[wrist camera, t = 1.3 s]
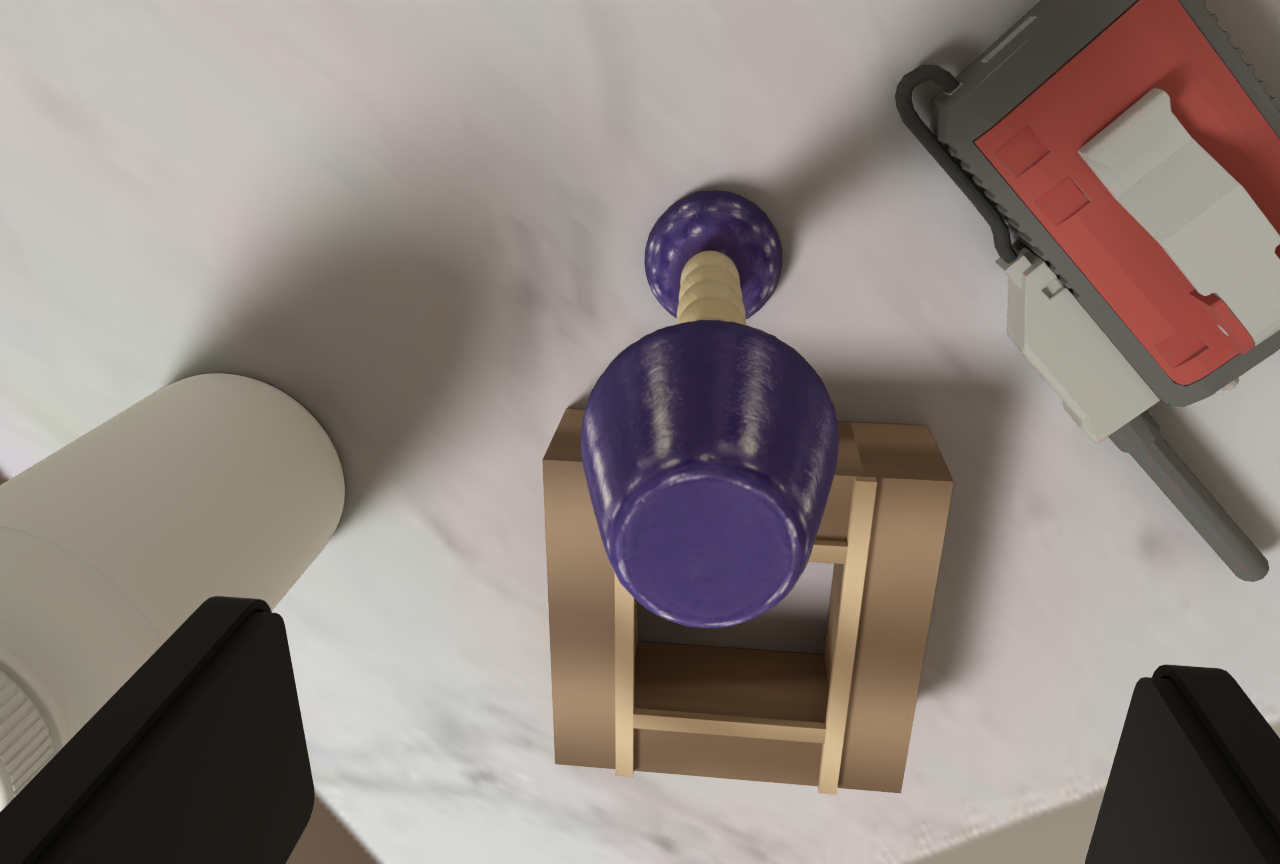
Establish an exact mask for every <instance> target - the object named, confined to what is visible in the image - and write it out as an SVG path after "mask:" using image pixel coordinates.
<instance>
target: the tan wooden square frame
mask: <svg viewBox="0 0 1280 864" xmlns="http://www.w3.org/2000/svg"><path fill="white" fill-rule="evenodd" d="M584 413H585V409H567V408H566V410H565V413H564V415H563V417H562V419H561V421H560V423H559V425H558V428H557V430H556V432H555V434H554V436H553V438H552V441H551V443H550V445H549V447H548V449H547V451H546V454H545V456H544V458H543V482H544V506H545V530H546V554H547V578H548V602H549V626H550V650H551V674H552V698H553V722H554V746H555V764H561V765H573V766H585V767H597V768H609V769H616V776H626V777H633V772H634V771H644V772H656V773H668V774H680V775H691V776H703V777H715V778H727V779H739V780H751V781H763V782H774V783H786V784H798V785H810V786H818V791H819V793H826V794H837V788H845V789H857V790H869V791H881V792H893V793H901V789H902V783H903V778H904V772H905V766H906V760H907V754H908V748H909V742H910V736H911V730H912V724H913V719H914V713H915V707H916V701H917V695H918V689H919V683H920V677H921V671H922V665H923V660H924V654H925V648H926V642H927V636H928V630H929V624H930V618H931V612H932V607H933V601H934V595H935V589H936V583H937V577H938V571H939V565H940V559H941V553H942V548H943V542H944V536H945V530H946V524H947V518H948V512H949V506H950V500H951V494H952V489H953V483H954V481H953V479H952V477H951V475H950V473H949V470H948V468H947V466H946V464H945V462H944V460H943V457H942V455H941V453H940V451H939V449H938V447H937V445H936V442H935V440H934V438H933V436H932V434H931V432H930V429H929V427H928V426H924V425H903V424H882V423H861V422H840V421H837V424H838V431H839V447H838V458H837V466H836V470H835V474H834V478H833V482H832V486H831V489H830V493H829V496H828V500H827V503H826V507H825V510H824V514H823V518H822V521H821V524H820V527H819V530H818V532H817V535H816V538H815V542H814V545H813V549H812V552H811V555H810V558H809V560H808V562H821V563H834V571H833V579H832V588H831V597H830V606H829V615H828V624H827V633H826V641H825V650H824V655H820V654H806V653H792V652H778V651H764V650H749V649H735V648H721V647H707V646H693V645H679V644H665V643H651V642H638V601H637V600H636V599H635V598H634V597H633V596H632V595H631V594H630V593H629V592H628V591H627V590H626V589H625V588H624V587H623V586H622V585H621V583H620V582H619V580H618V578H617V576H616V574H615V572H614V570H613V568H612V566H611V565H610V562H609V559H608V556H607V554H606V551H605V548H604V545H603V542H602V539H601V535H600V531H599V528H598V524H597V520H596V517H595V514H594V510H593V506H592V502H591V499H590V494H589V490H588V485H587V481H586V477H585V472H584V468H583V463H582V456H581V430H582V422H583V416H584Z"/></svg>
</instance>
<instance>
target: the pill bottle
mask: <svg viewBox="0 0 1280 864" xmlns="http://www.w3.org/2000/svg"><path fill="white" fill-rule="evenodd" d="M344 499H345V484H344V476H343V471H342V467H341V463H340V460H339V457H338V455H337V452H336V450H335V448H334V446H333V444H332V442H331V440H330V438H329V437H328V435H327V434H326V432H325V431H324V429H323V428H322V427H321V425H320V424H319V423H318V422H317V420H316V419H315V418H314V417H313V416H312V415H311V414H310V413H309V412H308V411H307V410H306V409H305V408H304V407H303V406H301V405H300V404H299V403H298V402H297V401H295V400H294V399H293V398H291V397H290V396H288V395H287V394H285V393H283V392H282V391H280V390H278V389H276V388H274V387H272V386H270V385H268V384H266V383H263V382H261V381H258V380H255V379H252V378H248V377H244V376H240V375H234V374H223V373H212V374H202V375H196V376H192V377H188V378H185V379H182V380H179V381H177V382H175V383H172V384H170V385H167V386H165V387H163V388H161V389H159V390H158V391H156V392H154V393H153V394H151V395H149V396H148V397H146V398H144V399H143V400H141V401H139V402H138V403H136V404H134V405H133V406H131V407H129V408H128V409H126V410H124V411H123V412H121V413H119V414H118V415H116V416H114V417H113V418H111V419H110V420H108V421H106V422H105V423H103V424H101V425H100V426H98V427H96V428H95V429H93V430H91V431H90V432H88V433H86V434H85V435H83V436H81V437H80V438H78V439H76V440H75V441H73V442H71V443H70V444H68V445H66V446H65V447H63V448H61V449H60V450H58V451H57V452H55V453H53V454H52V455H50V456H48V457H47V458H45V459H43V460H42V461H40V462H38V463H37V464H35V465H33V466H32V467H30V468H28V469H27V470H25V471H23V472H22V473H20V474H18V475H17V476H15V477H13V478H12V479H10V480H8V481H7V482H5V483H4V484H2V485H0V812H1V811H2V810H3V809H4V808H5V807H6V806H7V805H8V804H9V803H10V801H11V800H12V799H13V798H14V797H15V796H16V795H17V794H18V793H19V792H20V791H21V790H22V789H23V788H24V787H25V786H26V785H27V784H28V783H29V782H30V781H31V780H32V779H33V778H34V777H35V776H36V775H37V774H38V773H39V772H40V770H41V769H42V768H43V767H44V766H45V765H46V764H47V763H48V762H49V761H50V760H51V759H52V758H53V757H54V756H55V755H56V754H57V753H58V752H59V751H60V750H61V749H62V748H63V747H64V746H65V745H66V744H67V743H68V742H69V741H70V739H71V738H72V737H73V736H74V735H75V734H76V733H77V732H78V731H79V730H80V729H81V728H82V727H83V726H84V725H85V724H86V723H87V722H88V721H89V720H90V719H91V718H92V717H93V716H94V715H95V714H96V713H97V712H98V711H99V710H100V708H101V707H102V706H103V705H104V704H105V703H106V702H107V701H108V700H109V699H110V698H111V697H112V696H113V695H114V694H115V693H116V692H117V691H118V690H119V689H120V688H121V687H122V686H123V685H124V684H125V683H126V682H127V681H128V680H129V679H130V677H131V676H132V675H133V674H134V673H135V672H136V671H137V670H138V669H139V668H140V667H141V666H142V665H143V664H144V663H145V662H146V661H147V660H148V659H149V658H150V657H151V656H152V655H153V654H154V653H155V652H156V651H157V650H158V649H159V648H160V646H161V645H162V644H163V643H164V642H165V641H166V640H167V639H168V638H169V637H170V636H171V635H172V634H173V633H174V632H175V631H176V630H177V629H178V628H179V627H180V626H181V625H182V624H183V623H184V622H185V621H186V620H187V619H188V618H189V616H190V615H191V614H192V613H193V612H194V611H195V610H196V609H197V608H198V607H199V606H200V605H201V604H202V603H203V602H204V601H206V600H207V599H208V598H210V597H214V596H225V597H239V598H253V599H261V600H264V601H266V602H267V604H268V605H269V606H270V609H271V611H272V610H273V609H274V608H275V607H276V605H277V604H278V603H279V602H280V601H281V599H282V598H283V597H284V596H285V595H286V593H287V592H288V591H289V590H290V589H291V587H292V586H293V585H294V584H295V583H296V581H297V580H298V579H299V578H300V577H301V575H302V574H303V573H304V572H305V571H306V569H307V568H308V567H309V566H310V565H311V563H312V562H313V561H314V560H315V559H316V557H317V556H318V555H319V554H320V553H321V551H322V550H323V549H324V548H325V546H326V545H327V543H328V542H329V540H330V538H331V536H332V535H333V533H334V532H335V530H336V528H337V526H338V523H339V521H340V518H341V515H342V511H343V506H344Z"/></svg>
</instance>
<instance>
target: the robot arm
mask: <svg viewBox="0 0 1280 864" xmlns="http://www.w3.org/2000/svg"><path fill="white" fill-rule="evenodd" d="M314 795H315V794H314V785H313V779H312V774H311V768H310V762H309V757H308V751H307V746H306V740H305V735H304V729H303V724H302V718H301V712H300V707H299V701H298V696H297V690H296V685H295V679H294V674H293V668H292V662H291V657H290V651H289V646H288V640H287V635H286V629H285V624H284V621H283V618H282V617H281V616H280V615H279V614H277V613H272V612H271V609H270V606H269V605H268V604H267V602H266V601H264V600H261V599H253V598H239V597H225V596H214V597H210V598H208V599H207V600H206V601H204V602H203V603H202V604H201V605H200V606H199V607H198V608H197V609H196V610H195V611H194V612H193V613H192V614H191V615H190V616H189V618H188V619H187V620H186V621H185V622H184V623H183V624H182V625H181V626H180V627H179V628H178V629H177V630H176V631H175V632H174V633H173V634H172V635H171V636H170V637H169V638H168V639H167V640H166V641H165V642H164V643H163V644H162V645H161V646H160V648H159V649H158V650H157V651H156V652H155V653H154V654H153V655H152V656H151V657H150V658H149V659H148V660H147V661H146V662H145V663H144V664H143V665H142V666H141V667H140V668H139V669H138V670H137V671H136V672H135V673H134V674H133V675H132V676H131V677H130V679H129V680H128V681H127V682H126V683H125V684H124V685H123V686H122V687H121V688H120V689H119V690H118V691H117V692H116V693H115V694H114V695H113V696H112V697H111V698H110V699H109V700H108V701H107V702H106V703H105V704H104V705H103V706H102V707H101V708H100V710H99V711H98V712H97V713H96V714H95V715H94V716H93V717H92V718H91V719H90V720H89V721H88V722H87V723H86V724H85V725H84V726H83V727H82V728H81V729H80V730H79V731H78V732H77V733H76V734H75V735H74V736H73V737H72V738H71V739H70V741H69V742H68V743H67V744H66V745H65V746H64V747H63V748H62V749H61V750H60V751H59V752H58V753H57V754H56V755H55V756H54V757H53V758H52V759H51V760H50V761H49V762H48V763H47V764H46V765H45V766H44V767H43V768H42V769H41V770H40V772H39V773H38V774H37V775H36V776H35V777H34V778H33V779H32V780H31V781H30V782H29V783H28V784H27V785H26V786H25V787H24V788H23V789H22V790H21V791H20V792H19V793H18V794H17V795H16V796H15V797H14V798H13V799H12V800H11V801H10V803H9V804H8V805H7V806H6V807H5V808H4V809H3V810H2V811H1V812H0V864H285V863H286V862H287V860H288V858H289V856H290V854H291V853H292V851H293V849H294V847H295V845H296V844H297V842H298V840H299V838H300V836H301V834H302V833H303V831H304V829H305V827H306V826H307V823H308V821H309V819H310V816H311V813H312V810H313V805H314ZM1085 864H1280V738H1279V737H1278V736H1277V734H1276V733H1275V732H1274V730H1273V729H1272V728H1271V726H1270V725H1269V724H1268V723H1267V721H1266V720H1265V719H1264V717H1263V716H1262V715H1261V713H1260V712H1259V711H1258V709H1257V708H1256V707H1255V706H1254V704H1253V703H1252V702H1251V700H1250V699H1249V698H1248V696H1247V695H1246V694H1245V692H1244V691H1243V690H1242V688H1241V687H1240V686H1239V685H1238V683H1237V682H1236V681H1235V679H1234V678H1233V677H1232V676H1231V675H1230V674H1229V673H1228V672H1227V671H1225V670H1222V669H1219V668H1205V667H1191V666H1177V665H1162V666H1159V667H1158V668H1157V669H1156V671H1155V672H1154V674H1153V676H1152V678H1148V677H1144V678H1141V679H1140V680H1139V681H1138V682H1137V684H1136V686H1135V688H1134V692H1133V695H1132V699H1131V702H1130V706H1129V709H1128V713H1127V716H1126V720H1125V723H1124V727H1123V730H1122V734H1121V737H1120V741H1119V744H1118V748H1117V751H1116V755H1115V758H1114V762H1113V765H1112V769H1111V772H1110V776H1109V779H1108V783H1107V786H1106V790H1105V793H1104V797H1103V801H1102V804H1101V807H1100V811H1099V814H1098V818H1097V822H1096V825H1095V829H1094V832H1093V836H1092V839H1091V843H1090V846H1089V850H1088V853H1087V857H1086V861H1085Z"/></svg>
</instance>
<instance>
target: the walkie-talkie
mask: <svg viewBox="0 0 1280 864" xmlns="http://www.w3.org/2000/svg"><path fill="white" fill-rule="evenodd" d="M1205 2H1206V1H1205V0H1041V1H1040V2H1039V3H1038V4H1037V5H1036V6H1034V7H1033V8H1032V9H1031V10H1030V11H1029V12H1028V13H1027V14H1026V15H1025V16H1024V17H1022V18H1021V19H1020V20H1019V21H1018V22H1017V23H1016V24H1015V25H1014V26H1013V27H1011V28H1010V29H1009V30H1008V31H1007V32H1006V33H1005V34H1004V35H1003V36H1002V37H1001V38H999V39H998V40H997V41H996V42H995V43H994V44H993V45H992V46H991V47H990V48H988V49H987V50H986V51H985V52H984V53H983V54H982V55H981V56H980V57H979V58H978V59H976V60H975V61H974V62H973V63H972V64H971V65H970V66H969V67H968V68H967V69H965V70H964V71H963V72H962V73H961V74H960V75H959V76H958V77H957V78H956V79H955V78H954V77H953V75H952V74H951V73H950V72H948V71H946V70H944V69H942V68H940V67H938V66H935V65H922V66H920V67H918V68H916V69H915V70H913V71H911V72H909V73H908V74H906V75H904V76H903V78H902V79H901V81H900V82H899V84H898V85H897V90H896V94H895V101H896V107H897V109H898V111H899V114H900V116H901V119H902V121H903V122H904V124H905V125H906V126H907V127H908V128H909V129H910V131H911V132H912V133H913V134H914V135H915V136H916V138H917V139H918V140H919V141H920V142H921V143H922V145H923V146H924V147H925V148H926V149H927V151H928V152H929V153H930V154H931V155H932V156H933V158H934V159H935V160H936V161H937V162H938V163H939V165H940V166H941V167H942V168H943V169H944V170H945V172H946V173H947V174H948V175H949V176H950V177H951V179H952V180H953V181H954V182H955V183H956V184H957V186H958V187H959V188H960V189H961V190H962V191H963V193H964V194H965V195H966V196H967V197H968V199H969V200H970V201H971V202H972V204H973V205H974V206H975V207H976V209H977V210H978V211H979V212H980V214H981V215H982V216H983V217H984V219H985V220H986V221H987V222H988V224H989V225H990V227H991V230H992V232H993V237H994V244H995V248H996V250H997V252H998V254H999V256H1000V258H999V259H998V260H997V261H995V262H996V263H997V264H998V265H999V267H1000V268H1001V269H1002V270H1003V271H1004V272H1005V274H1006V275H1007V276H1008V308H1007V332H1008V336H1009V338H1010V339H1011V340H1012V341H1013V342H1014V344H1015V345H1016V346H1017V347H1018V348H1019V350H1020V351H1021V352H1022V353H1023V354H1024V355H1025V357H1026V358H1027V359H1028V360H1029V361H1030V362H1031V364H1032V365H1033V366H1034V367H1035V368H1036V369H1037V370H1038V372H1039V373H1040V374H1041V375H1042V376H1043V377H1044V379H1045V380H1046V381H1047V382H1048V383H1049V384H1050V385H1051V387H1052V388H1053V389H1054V390H1055V391H1056V392H1057V394H1058V395H1059V396H1060V397H1061V398H1062V399H1063V402H1064V409H1065V410H1066V411H1067V412H1068V414H1069V415H1070V416H1071V417H1072V418H1073V420H1074V421H1075V422H1076V423H1077V424H1078V426H1079V427H1080V428H1081V429H1082V430H1083V431H1084V432H1085V433H1086V434H1087V436H1088V437H1089V438H1090V439H1091V440H1092V441H1093V442H1094V443H1096V442H1100V441H1102V440H1103V439H1105V438H1106V437H1109V438H1110V439H1111V440H1112V441H1113V442H1114V443H1115V445H1116V446H1117V447H1118V448H1119V449H1120V450H1121V451H1123V452H1127V453H1130V454H1131V456H1132V457H1133V458H1134V459H1135V460H1136V461H1137V463H1138V464H1139V465H1140V466H1141V467H1142V468H1143V469H1144V471H1145V472H1146V473H1147V474H1148V475H1149V476H1150V477H1151V479H1152V480H1153V481H1154V482H1155V483H1156V484H1157V485H1158V487H1159V488H1160V489H1161V490H1162V491H1163V492H1164V494H1165V495H1166V496H1167V497H1168V498H1169V499H1170V500H1171V502H1172V503H1173V504H1174V505H1175V506H1176V507H1177V508H1178V510H1179V511H1180V512H1181V513H1182V514H1183V515H1184V516H1185V518H1186V519H1187V520H1188V521H1189V522H1190V523H1191V524H1192V526H1193V527H1194V528H1195V529H1196V530H1197V531H1198V533H1199V534H1200V535H1201V536H1202V537H1203V538H1204V539H1205V541H1206V542H1207V543H1208V544H1209V545H1210V546H1211V547H1212V549H1213V550H1214V551H1215V552H1216V553H1217V554H1218V555H1219V557H1220V558H1221V559H1222V560H1223V561H1224V562H1225V564H1226V565H1227V566H1228V567H1229V568H1230V569H1231V570H1232V572H1233V573H1234V574H1235V575H1236V576H1237V577H1238V578H1240V579H1242V580H1244V581H1251V582H1255V581H1258V580H1260V579H1263V578H1264V577H1265V576H1266V575H1267V573H1268V570H1269V565H1268V561H1267V559H1266V558H1265V557H1264V556H1263V554H1262V553H1261V552H1260V551H1259V550H1258V549H1257V548H1256V546H1255V545H1254V544H1253V543H1252V542H1251V541H1250V539H1249V538H1248V537H1247V536H1246V535H1245V534H1244V532H1243V531H1242V530H1241V529H1240V528H1239V527H1238V525H1237V524H1236V523H1235V522H1234V521H1233V520H1232V518H1231V517H1230V516H1229V515H1228V514H1227V513H1226V511H1225V510H1224V509H1223V508H1222V507H1221V506H1220V504H1219V503H1218V502H1217V501H1216V500H1215V499H1214V497H1213V496H1212V495H1211V494H1210V493H1209V492H1208V491H1207V489H1206V488H1205V487H1204V486H1203V485H1202V484H1201V482H1200V481H1199V480H1198V479H1197V478H1196V477H1195V475H1194V474H1193V473H1192V472H1191V471H1190V470H1189V468H1188V467H1187V466H1186V465H1185V464H1184V463H1183V461H1182V460H1181V459H1180V458H1179V457H1178V456H1177V454H1176V453H1175V452H1174V451H1173V450H1172V449H1171V447H1170V446H1169V445H1168V444H1167V443H1166V442H1165V440H1164V439H1163V438H1162V437H1161V436H1160V435H1159V427H1160V426H1159V425H1158V424H1157V423H1156V422H1155V420H1154V419H1153V418H1152V417H1151V416H1150V414H1149V413H1148V412H1147V411H1146V410H1147V409H1149V408H1150V407H1151V406H1153V405H1154V404H1156V403H1157V402H1159V401H1160V399H1161V400H1162V401H1163V402H1164V403H1165V404H1170V405H1175V406H1181V407H1185V406H1187V405H1190V404H1192V403H1195V402H1197V401H1200V400H1202V399H1205V398H1207V397H1209V396H1211V395H1213V394H1214V395H1220V394H1224V393H1226V392H1229V391H1230V390H1232V389H1233V388H1234V387H1235V386H1236V385H1237V384H1238V382H1239V378H1238V377H1239V376H1241V375H1242V374H1244V373H1245V372H1247V371H1248V370H1250V369H1251V368H1253V367H1254V366H1256V365H1257V364H1259V363H1260V362H1262V361H1263V360H1264V359H1266V358H1267V357H1269V356H1270V355H1272V354H1273V353H1275V352H1276V351H1278V350H1279V349H1280V110H1279V109H1278V108H1277V104H1278V101H1277V100H1276V98H1274V97H1269V95H1268V94H1267V92H1266V91H1265V88H1266V84H1265V83H1264V82H1263V81H1258V80H1257V79H1256V77H1255V76H1254V74H1253V72H1254V70H1255V69H1254V68H1253V66H1252V65H1248V64H1246V63H1245V62H1244V61H1243V59H1242V58H1241V55H1242V53H1243V52H1242V51H1241V50H1240V48H1234V47H1233V45H1232V44H1231V43H1230V41H1229V38H1230V34H1229V33H1228V32H1227V31H1222V30H1221V29H1220V27H1219V26H1218V25H1217V23H1216V22H1217V20H1218V18H1217V16H1216V15H1215V14H1209V12H1208V11H1207V9H1206V8H1205V7H1204V4H1205ZM928 80H931V81H933V82H934V83H936V84H938V85H939V86H940V87H941V88H942V89H943V90H942V91H941V92H940V93H939V94H938V95H937V96H936V97H935V98H934V99H933V101H932V112H931V123H930V129H929V128H928V127H927V126H926V125H925V123H924V122H923V121H922V120H921V119H920V117H919V116H918V114H917V112H916V111H915V109H914V107H913V103H912V99H911V98H912V91H913V90H914V88H915V87H916V86H917V85H919V84H921V83H923V82H924V81H928ZM937 138H938V139H939V140H941V142H940V141H939V140H938V139H937ZM950 153H951V154H952V155H953V156H952V155H951V154H950ZM963 168H964V169H963ZM975 183H976V184H975ZM986 196H987V197H986ZM997 209H998V210H997ZM1004 220H1005V221H1007V222H1008V223H1009V228H1010V229H1011V230H1012V231H1014V232H1015V233H1016V234H1017V235H1019V236H1020V241H1021V242H1022V243H1023V244H1024V245H1026V246H1027V247H1028V248H1030V249H1031V250H1032V251H1030V250H1029V249H1027V248H1026V247H1024V248H1023V249H1021V250H1020V251H1018V250H1016V249H1015V248H1014V247H1013V248H1012V245H1011V239H1010V232H1009V228H1008V226H1007V224H1006V223H1005V221H1004Z"/></svg>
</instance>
